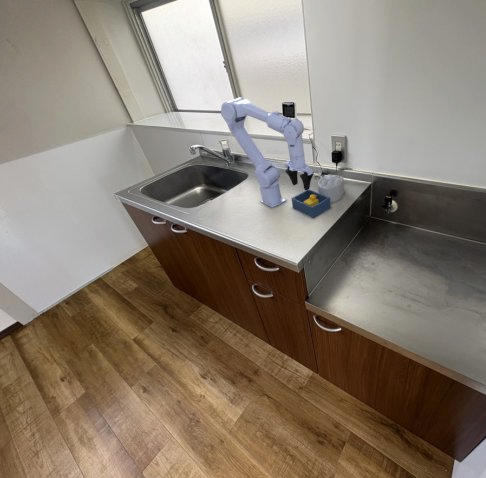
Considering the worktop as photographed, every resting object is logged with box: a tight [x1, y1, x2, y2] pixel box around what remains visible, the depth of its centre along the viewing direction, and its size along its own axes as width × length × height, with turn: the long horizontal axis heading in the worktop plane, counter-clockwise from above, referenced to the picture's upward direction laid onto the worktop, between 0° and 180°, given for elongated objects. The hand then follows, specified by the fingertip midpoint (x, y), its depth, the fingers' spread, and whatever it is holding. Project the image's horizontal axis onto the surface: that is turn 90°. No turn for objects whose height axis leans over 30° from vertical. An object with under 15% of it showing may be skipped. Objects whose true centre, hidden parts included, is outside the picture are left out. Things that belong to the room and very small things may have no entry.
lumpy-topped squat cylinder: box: [317, 174, 345, 204], centre depth 111 cm, size 10×13×9 cm
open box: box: [291, 188, 332, 219], centre depth 106 cm, size 13×10×5 cm
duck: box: [303, 194, 319, 207], centre depth 106 cm, size 4×6×6 cm
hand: (301, 186), depth 104 cm, fingers open, 7 cm apart
